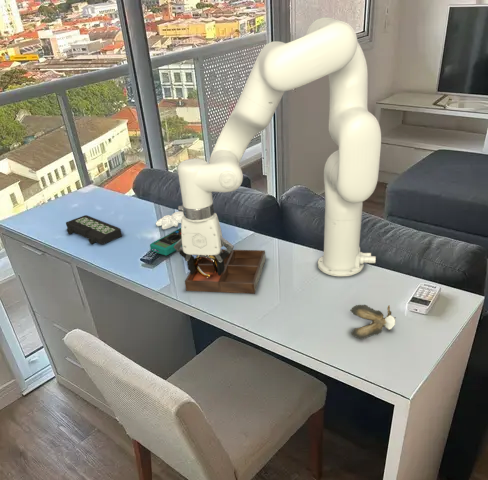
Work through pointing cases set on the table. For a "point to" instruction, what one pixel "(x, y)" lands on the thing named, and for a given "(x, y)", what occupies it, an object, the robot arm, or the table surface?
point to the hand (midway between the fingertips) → (206, 272)
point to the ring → (208, 259)
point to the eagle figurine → (376, 319)
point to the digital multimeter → (167, 243)
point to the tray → (230, 273)
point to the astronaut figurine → (170, 220)
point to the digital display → (93, 229)
